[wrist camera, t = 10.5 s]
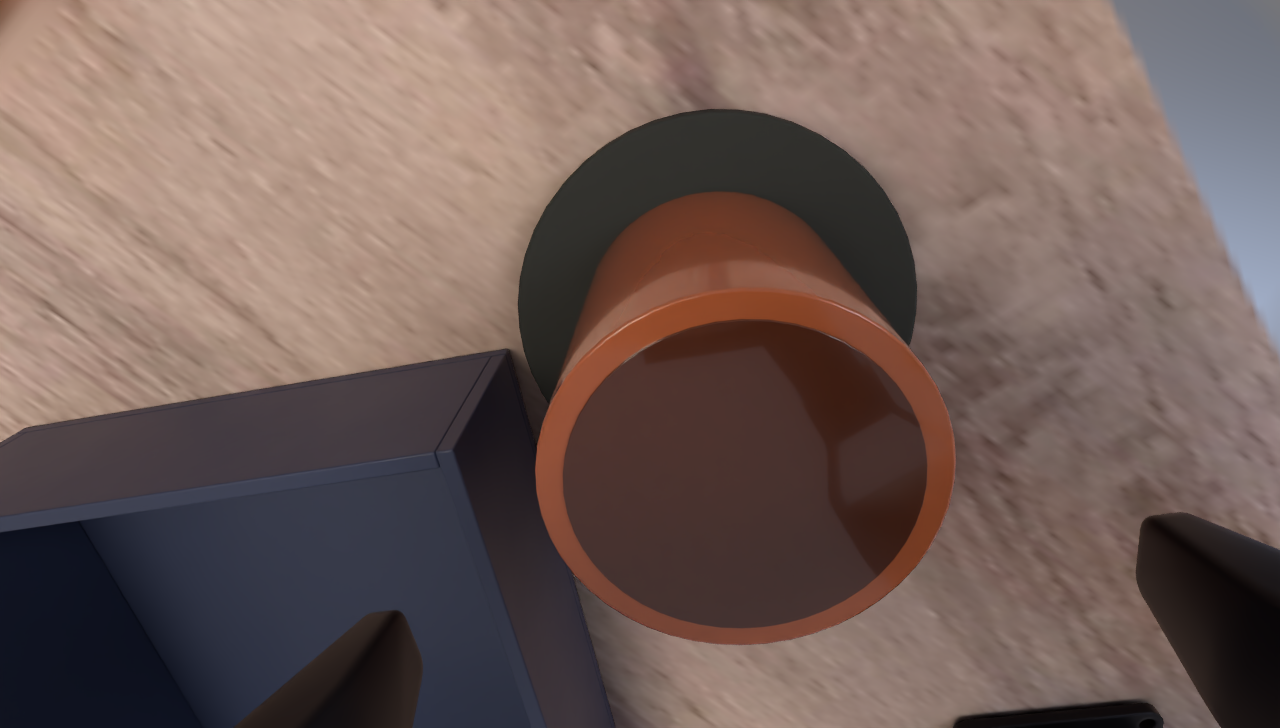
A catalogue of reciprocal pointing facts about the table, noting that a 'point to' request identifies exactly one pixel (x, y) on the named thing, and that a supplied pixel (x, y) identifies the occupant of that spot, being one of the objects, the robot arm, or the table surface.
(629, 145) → the disc
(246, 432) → the carton
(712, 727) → the table surface
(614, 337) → the cup
